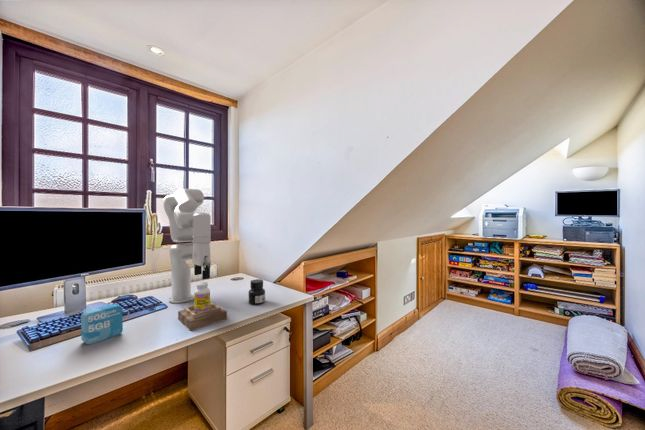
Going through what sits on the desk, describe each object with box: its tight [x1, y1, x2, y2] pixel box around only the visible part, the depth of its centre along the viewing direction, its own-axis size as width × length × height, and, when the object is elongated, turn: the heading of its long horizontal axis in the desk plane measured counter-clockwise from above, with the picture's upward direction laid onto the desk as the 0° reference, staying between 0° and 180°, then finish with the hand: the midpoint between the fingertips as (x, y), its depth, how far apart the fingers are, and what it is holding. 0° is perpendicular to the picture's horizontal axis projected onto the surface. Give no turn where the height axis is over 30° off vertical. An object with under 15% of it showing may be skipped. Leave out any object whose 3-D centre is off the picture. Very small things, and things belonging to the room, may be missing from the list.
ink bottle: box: [248, 278, 266, 306], centre depth 146 cm, size 10×9×12 cm
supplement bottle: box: [193, 281, 211, 313], centre depth 123 cm, size 7×7×13 cm
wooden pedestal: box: [177, 301, 228, 331], centre depth 124 cm, size 16×16×6 cm
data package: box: [80, 303, 124, 345], centre depth 106 cm, size 12×4×12 cm, turn 147°
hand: (202, 276), depth 123 cm, fingers open, 9 cm apart
